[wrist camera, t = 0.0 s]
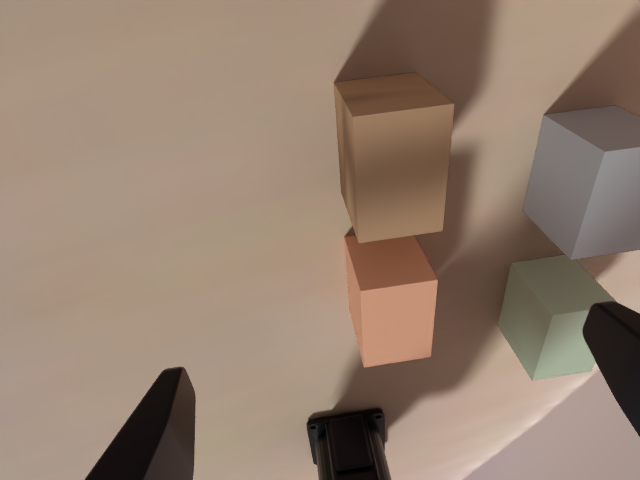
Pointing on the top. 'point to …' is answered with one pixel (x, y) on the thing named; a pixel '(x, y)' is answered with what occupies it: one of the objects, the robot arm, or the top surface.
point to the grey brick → (587, 181)
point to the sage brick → (549, 315)
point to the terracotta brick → (390, 299)
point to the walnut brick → (393, 154)
